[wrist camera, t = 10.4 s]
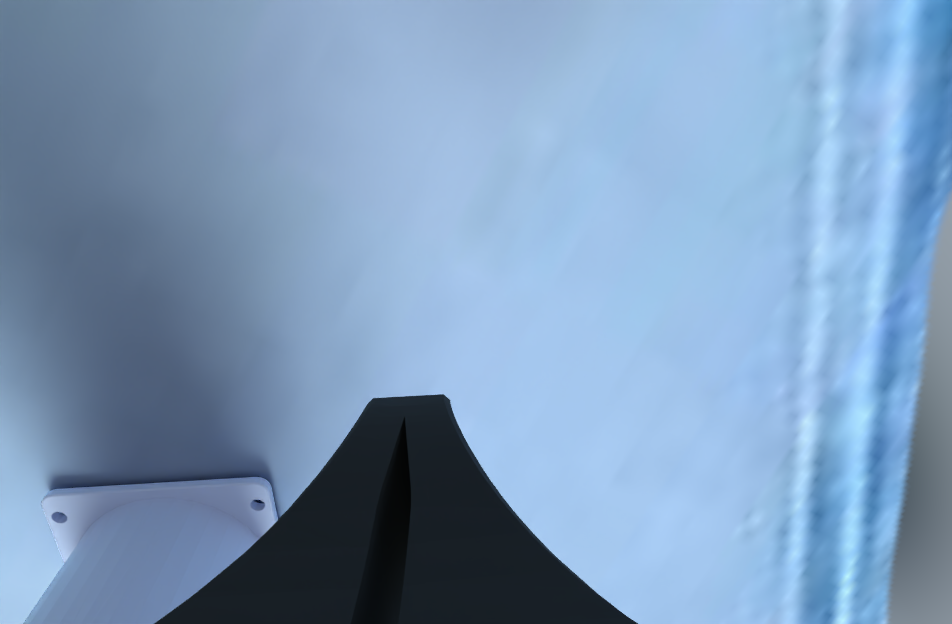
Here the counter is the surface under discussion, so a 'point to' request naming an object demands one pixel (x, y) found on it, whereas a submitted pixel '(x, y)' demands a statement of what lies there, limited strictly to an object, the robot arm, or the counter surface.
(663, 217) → the counter surface
